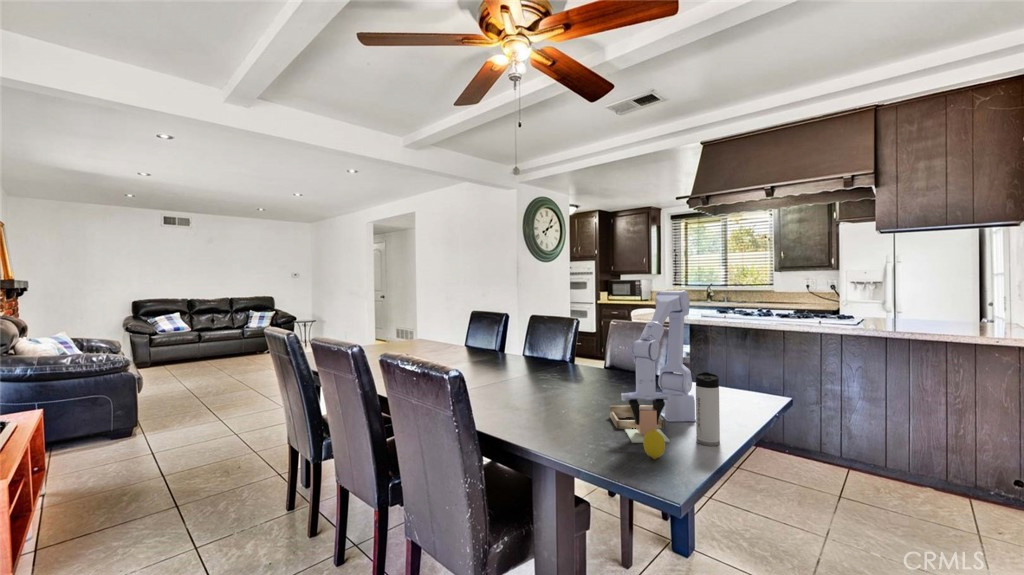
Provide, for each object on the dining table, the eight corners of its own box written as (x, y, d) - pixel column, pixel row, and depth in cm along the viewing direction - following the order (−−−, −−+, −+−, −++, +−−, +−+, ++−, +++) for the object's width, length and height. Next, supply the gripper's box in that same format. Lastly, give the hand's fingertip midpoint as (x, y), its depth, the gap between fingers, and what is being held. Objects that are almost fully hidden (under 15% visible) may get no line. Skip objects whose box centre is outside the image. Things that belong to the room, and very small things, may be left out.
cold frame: (653, 416, 152) (653, 405, 152) (664, 428, 140) (663, 416, 140) (610, 417, 153) (609, 405, 153) (617, 428, 141) (616, 416, 141)
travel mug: (718, 439, 130) (717, 372, 130) (721, 447, 124) (720, 377, 123) (695, 437, 132) (694, 371, 132) (697, 445, 126) (696, 376, 125)
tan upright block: (652, 428, 136) (651, 405, 136) (656, 433, 131) (656, 410, 131) (636, 428, 136) (635, 406, 136) (640, 434, 131) (639, 410, 131)
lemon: (640, 455, 119) (639, 426, 119) (660, 454, 120) (659, 425, 119) (648, 464, 114) (647, 433, 113) (669, 463, 114) (668, 432, 114)
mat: (659, 430, 138) (659, 429, 138) (670, 442, 128) (670, 440, 128) (624, 430, 139) (624, 429, 139) (632, 442, 129) (632, 440, 129)
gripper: (624, 382, 129) (625, 428, 130) (674, 382, 129) (674, 427, 129) (619, 377, 136) (620, 420, 137) (666, 376, 136) (667, 420, 136)
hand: (646, 423), depth 133 cm, fingers closed on tan upright block, 5 cm apart
